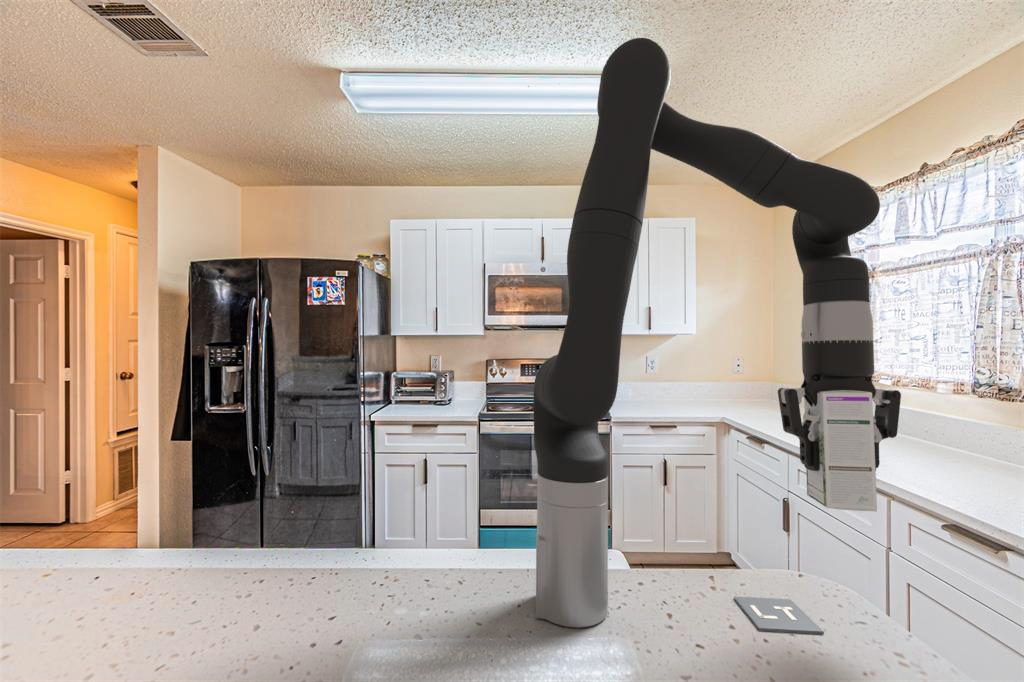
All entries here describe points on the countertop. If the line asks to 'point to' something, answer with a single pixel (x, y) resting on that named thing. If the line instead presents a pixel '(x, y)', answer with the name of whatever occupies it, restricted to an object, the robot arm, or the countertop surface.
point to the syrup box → (844, 451)
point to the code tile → (777, 615)
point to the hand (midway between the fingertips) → (839, 469)
